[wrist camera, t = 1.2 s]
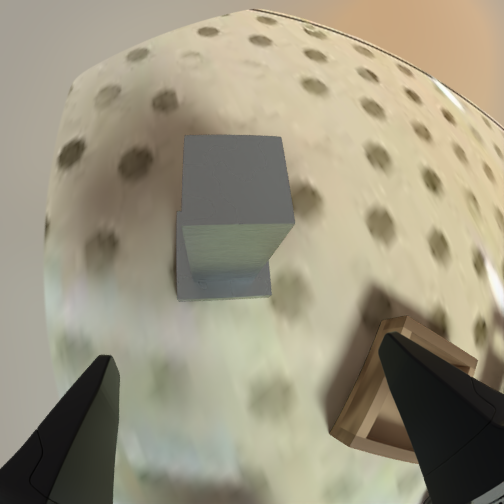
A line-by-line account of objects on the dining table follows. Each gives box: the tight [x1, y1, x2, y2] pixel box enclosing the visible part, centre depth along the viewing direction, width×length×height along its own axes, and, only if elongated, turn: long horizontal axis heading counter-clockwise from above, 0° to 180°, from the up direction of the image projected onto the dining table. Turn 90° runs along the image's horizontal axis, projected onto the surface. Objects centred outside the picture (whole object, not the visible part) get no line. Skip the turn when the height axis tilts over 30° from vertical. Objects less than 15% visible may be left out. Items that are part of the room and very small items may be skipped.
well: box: [330, 316, 478, 464], centre depth 20 cm, size 11×11×4 cm
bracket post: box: [176, 135, 295, 302], centre depth 18 cm, size 7×7×12 cm
